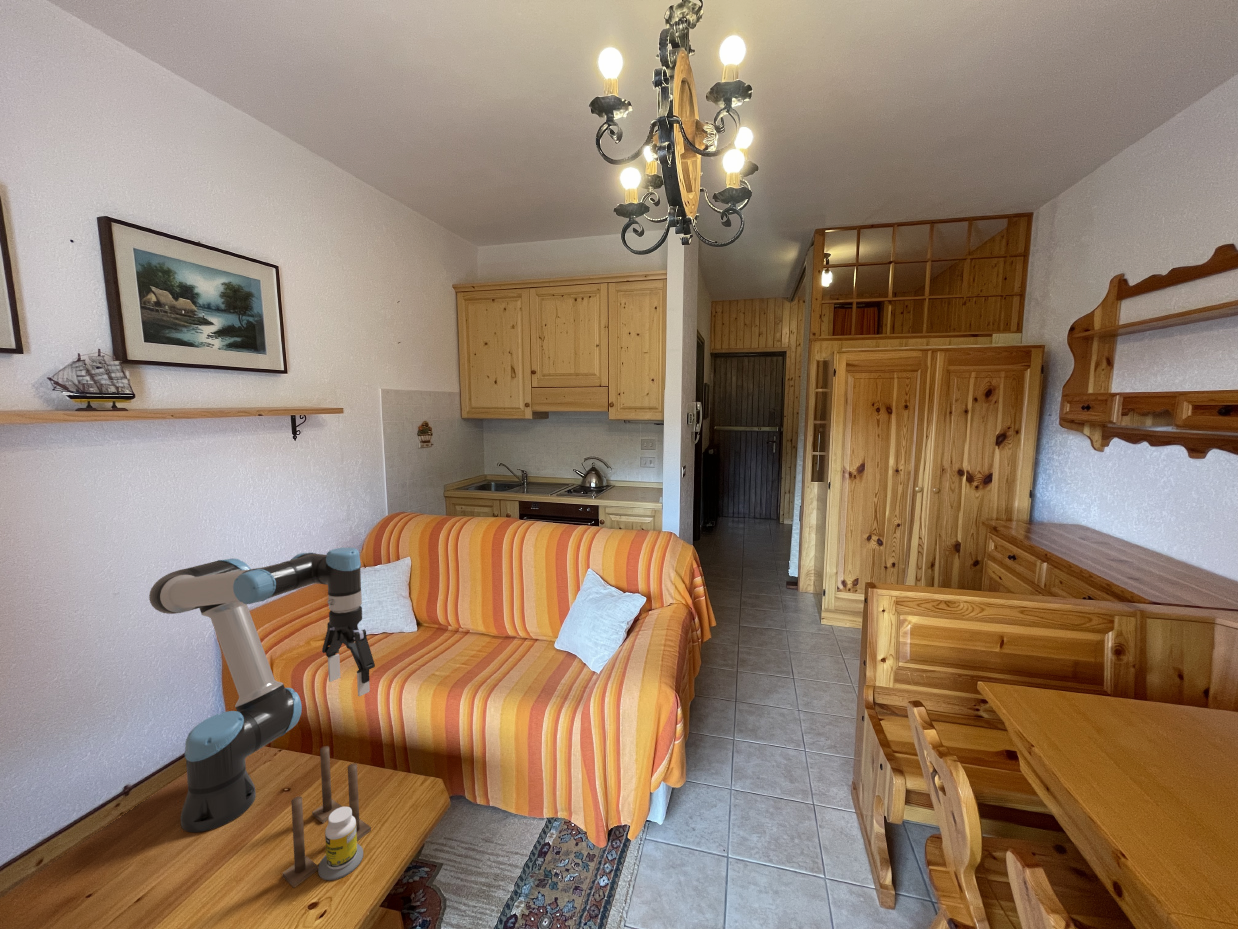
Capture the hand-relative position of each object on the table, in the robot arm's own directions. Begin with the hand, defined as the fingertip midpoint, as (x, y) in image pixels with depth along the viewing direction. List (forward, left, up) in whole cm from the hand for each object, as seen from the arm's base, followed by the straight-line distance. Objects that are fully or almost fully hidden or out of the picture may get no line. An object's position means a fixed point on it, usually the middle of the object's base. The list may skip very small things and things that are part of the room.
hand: (348, 686), depth 128 cm
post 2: (-1, -6, -32) cm, 32 cm away
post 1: (+11, -18, -32) cm, 38 cm away
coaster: (+16, -12, -32) cm, 38 cm away
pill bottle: (+16, -12, -31) cm, 37 cm away
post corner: (+11, -6, -32) cm, 34 cm away
